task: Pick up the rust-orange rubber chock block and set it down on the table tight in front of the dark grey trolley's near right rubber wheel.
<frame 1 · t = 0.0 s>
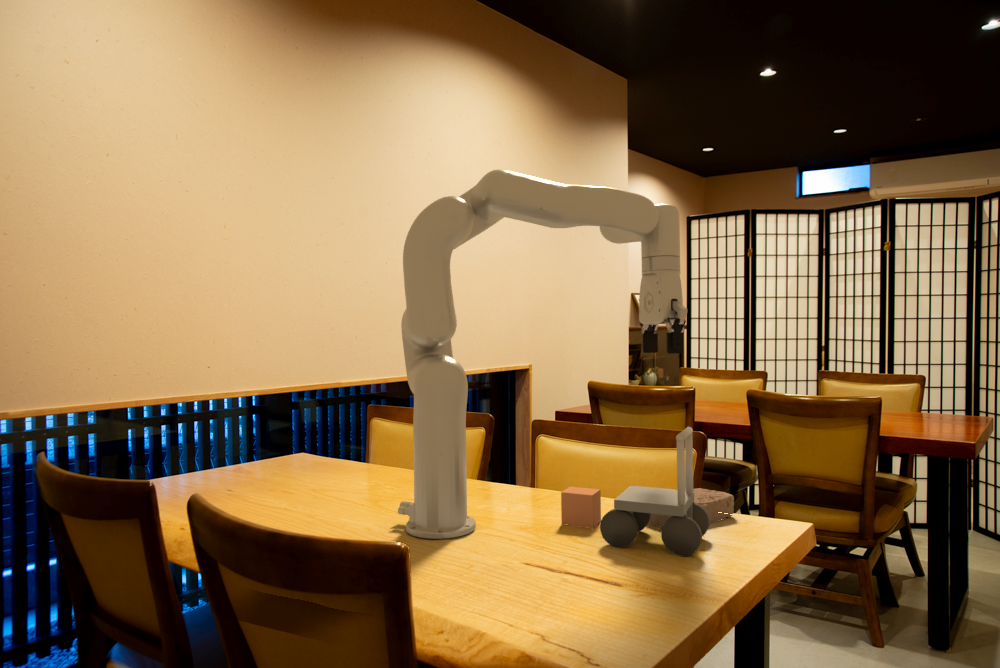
hand: (662, 353, 126), 31 cm above the table, tool pointing down, fingers open, 9 cm apart
chock: (581, 523, 117), on the table
trolley: (655, 542, 105), on the table
brick: (689, 522, 118), on the table
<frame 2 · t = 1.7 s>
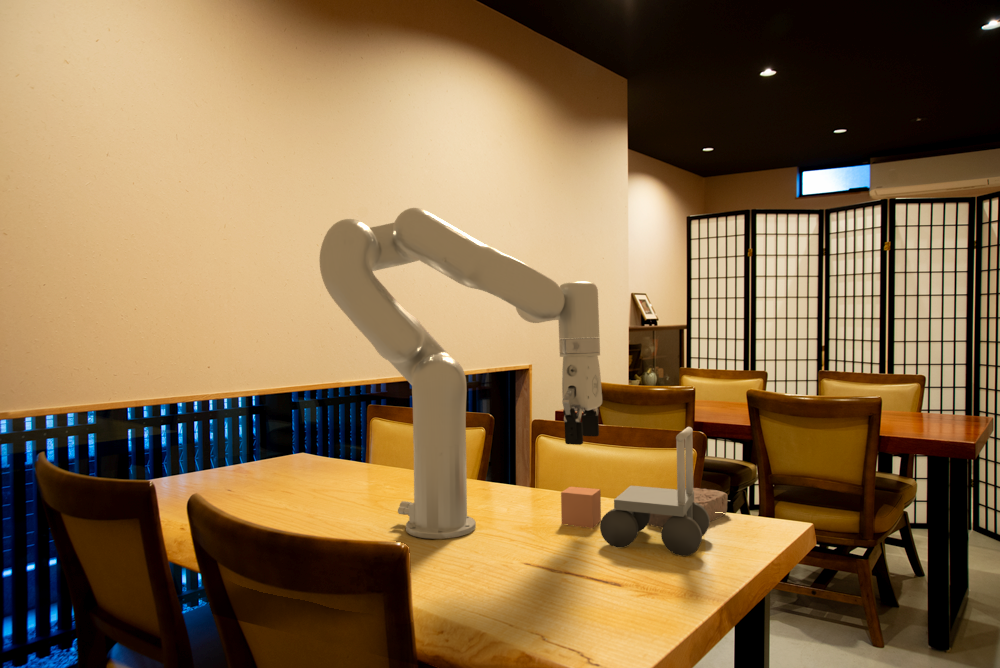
hand: (582, 439, 117), 15 cm above the table, tool pointing down, fingers open, 9 cm apart
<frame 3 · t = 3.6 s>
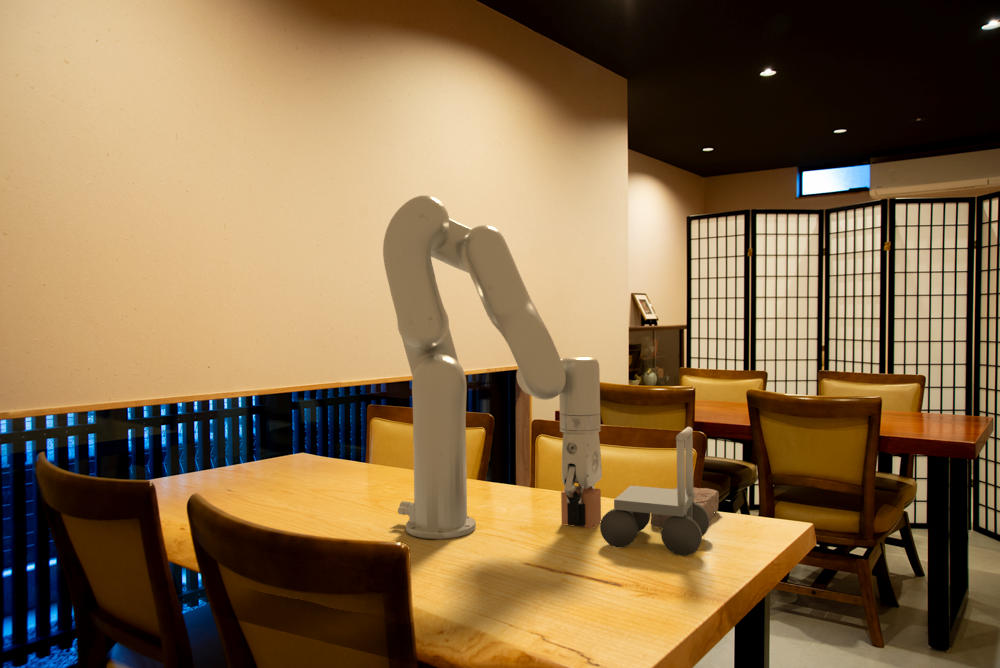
hand: (581, 520, 117), 0 cm above the table, tool pointing down, fingers closed on chock, 5 cm apart
chock: (581, 522, 117), on the table, touching gripper
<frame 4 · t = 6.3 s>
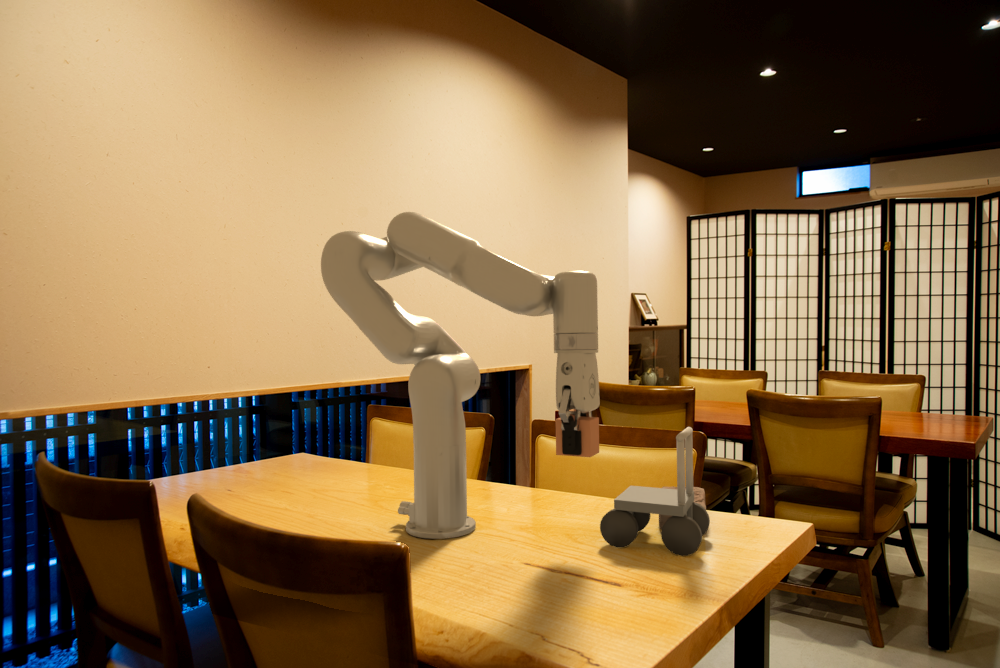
hand: (577, 450, 107), 15 cm above the table, tool pointing down, fingers closed on chock, 5 cm apart
chock: (577, 453, 107), point 15 cm above the table, touching gripper
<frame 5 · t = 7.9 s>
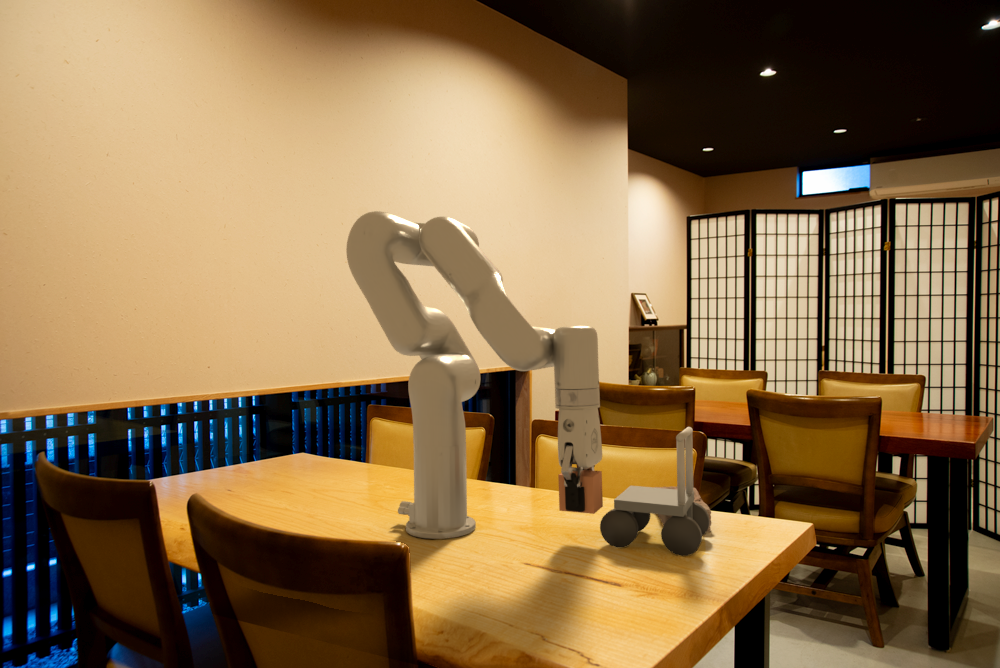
hand: (580, 505, 106), 6 cm above the table, tool pointing down, fingers closed on chock, 5 cm apart
chock: (581, 508, 106), point 6 cm above the table, touching gripper
when the fingers open (2 cm above the table, at t = 9.1 s): chock drops 1 cm, on the table.
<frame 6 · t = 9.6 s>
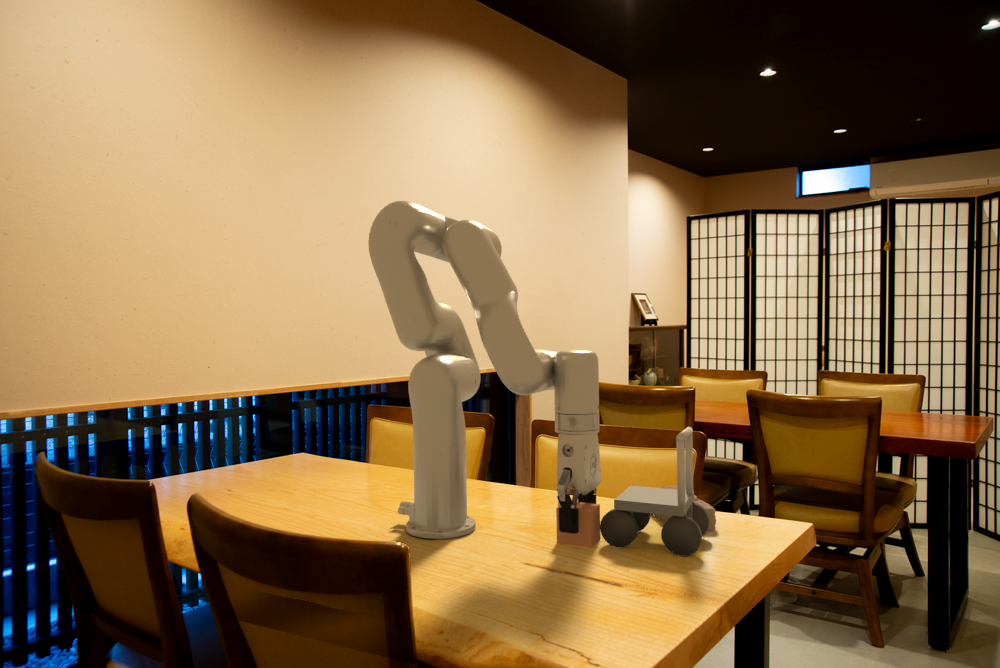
hand: (578, 524, 106), 3 cm above the table, tool pointing down, fingers open, 9 cm apart
chock: (578, 541, 106), on the table
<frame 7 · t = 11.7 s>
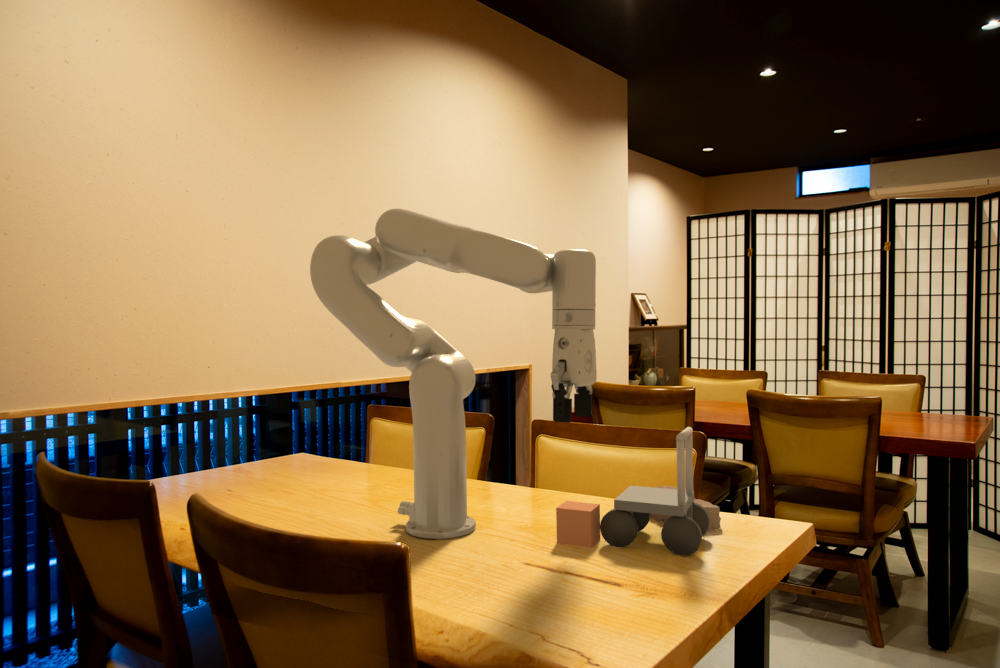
hand: (573, 418, 110), 20 cm above the table, tool pointing down, fingers open, 9 cm apart
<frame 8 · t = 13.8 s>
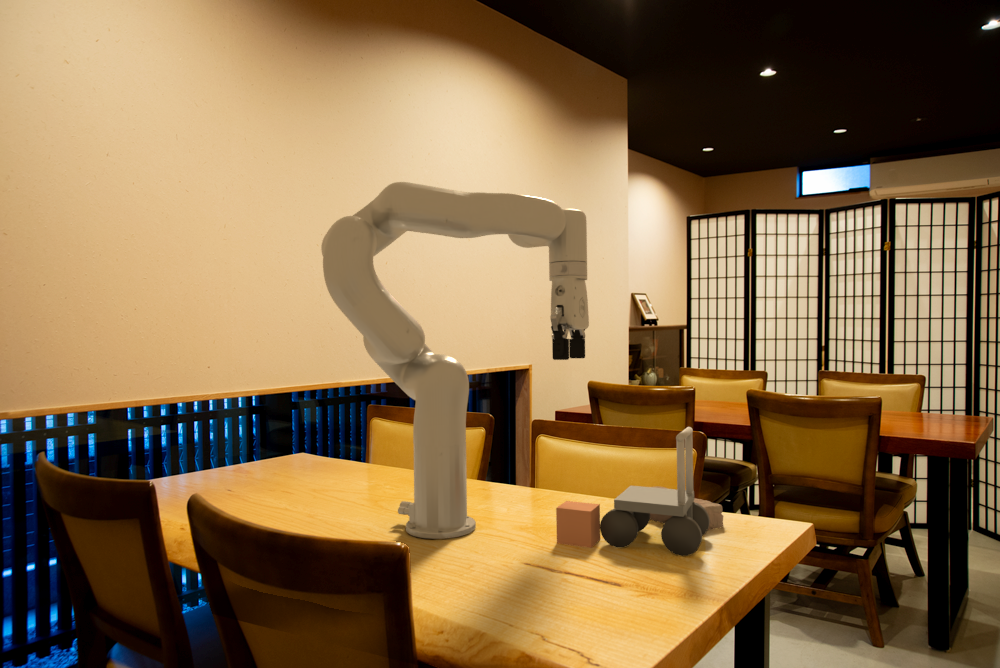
hand: (569, 358, 125), 30 cm above the table, tool pointing down, fingers open, 9 cm apart
at the end: chock 0.2 cm from the target spot on the table beside the trolley, on the table; chock tilted 0°; the gripper is holding nothing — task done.
